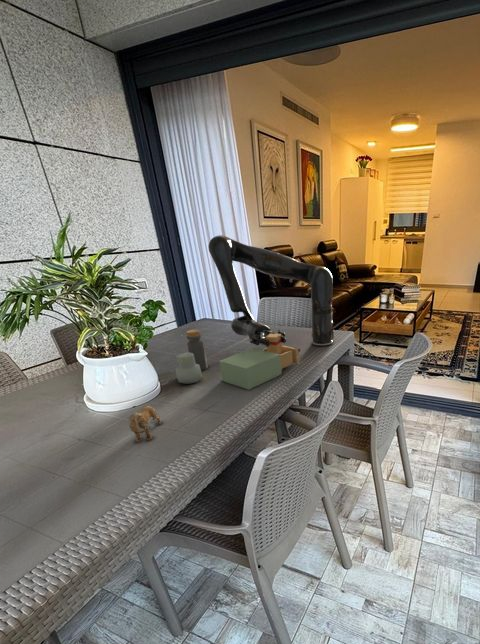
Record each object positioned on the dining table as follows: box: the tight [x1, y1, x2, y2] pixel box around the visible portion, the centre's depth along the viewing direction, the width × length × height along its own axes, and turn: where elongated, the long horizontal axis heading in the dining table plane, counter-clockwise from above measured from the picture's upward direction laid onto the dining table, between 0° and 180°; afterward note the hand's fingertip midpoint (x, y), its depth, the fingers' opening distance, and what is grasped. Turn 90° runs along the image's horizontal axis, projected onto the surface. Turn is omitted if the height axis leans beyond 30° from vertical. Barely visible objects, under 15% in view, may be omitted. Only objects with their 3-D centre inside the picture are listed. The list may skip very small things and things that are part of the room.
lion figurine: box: [128, 405, 162, 443], centre depth 95 cm, size 15×5×9 cm, turn 14°
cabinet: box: [219, 347, 283, 391], centre depth 128 cm, size 17×14×8 cm
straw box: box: [266, 334, 283, 355], centre depth 134 cm, size 4×4×8 cm
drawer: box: [262, 344, 301, 370], centre depth 138 cm, size 20×13×6 cm, turn 143°
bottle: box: [185, 329, 209, 371], centre depth 137 cm, size 6×6×15 cm
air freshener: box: [175, 351, 203, 385], centre depth 127 cm, size 11×8×10 cm
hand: (276, 341), depth 132 cm, fingers closed on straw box, 6 cm apart
